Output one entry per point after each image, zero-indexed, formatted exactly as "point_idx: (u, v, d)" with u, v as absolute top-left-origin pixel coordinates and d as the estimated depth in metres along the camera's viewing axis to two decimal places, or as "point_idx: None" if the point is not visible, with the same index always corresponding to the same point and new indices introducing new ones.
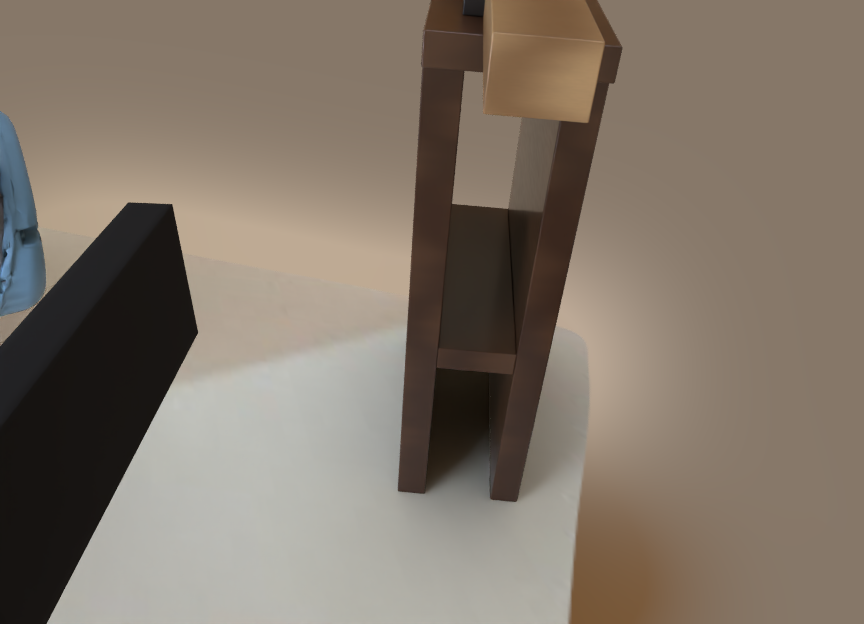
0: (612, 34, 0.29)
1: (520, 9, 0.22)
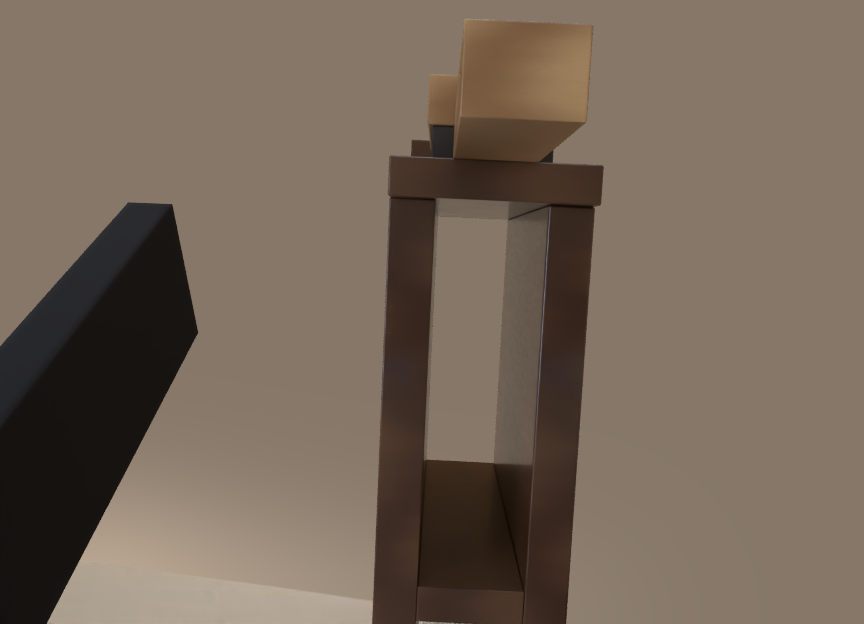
0: None
1: None
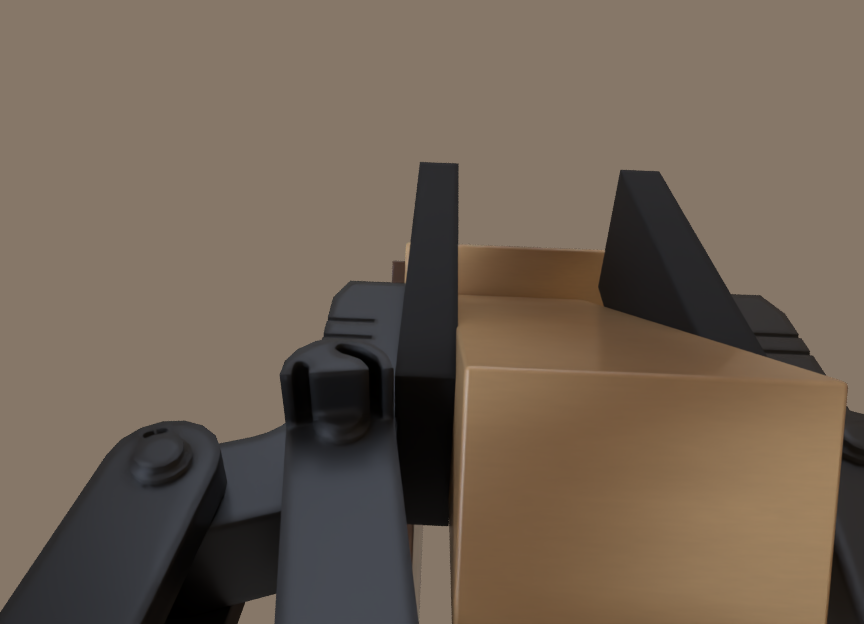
0: None
1: (531, 333, 0.09)
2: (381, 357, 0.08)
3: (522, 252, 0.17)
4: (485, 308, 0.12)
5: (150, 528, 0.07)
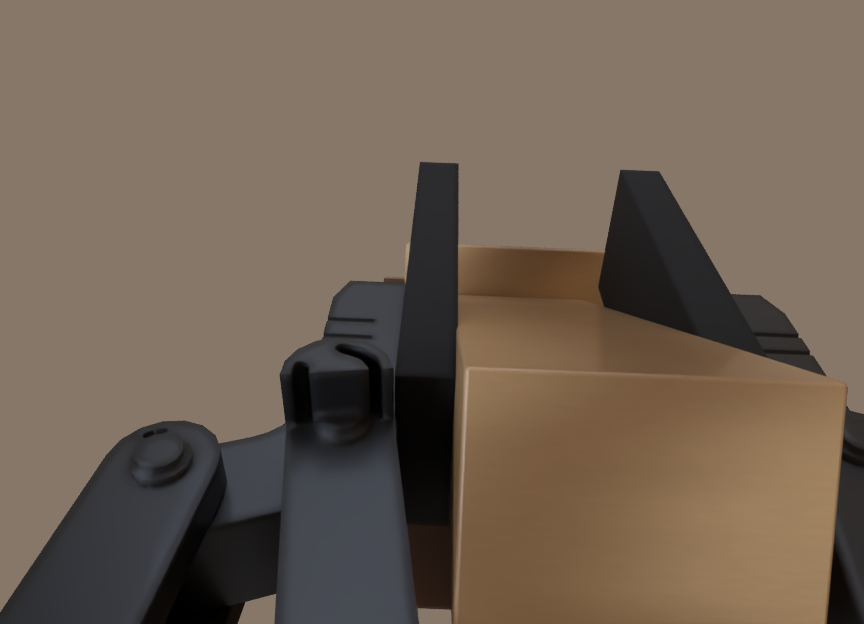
0: None
1: (530, 333, 0.09)
2: (381, 357, 0.08)
3: (522, 252, 0.17)
4: (485, 308, 0.12)
5: (150, 528, 0.07)
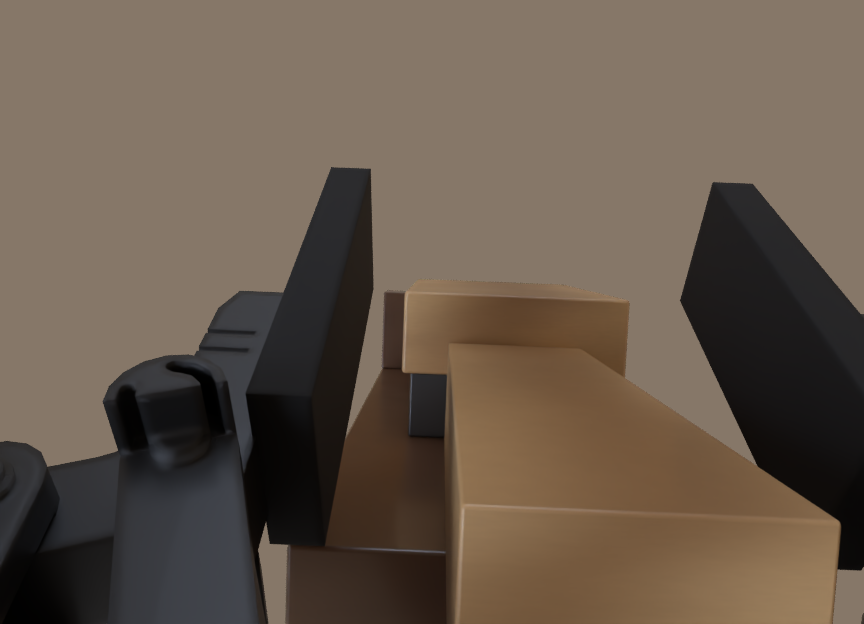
0: None
1: (528, 427, 0.09)
2: (214, 371, 0.07)
3: (521, 301, 0.17)
4: (483, 373, 0.13)
5: None
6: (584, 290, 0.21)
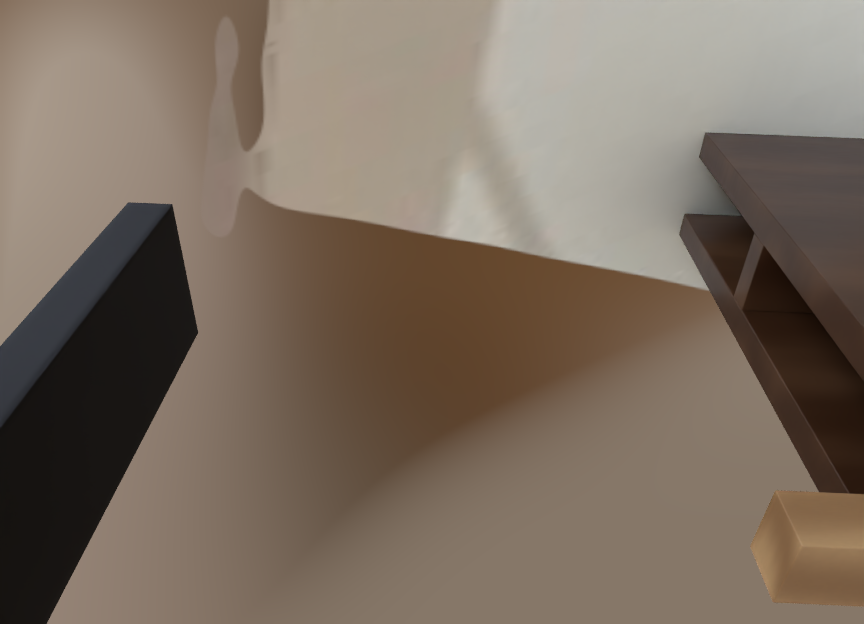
0: None
1: None
2: None
3: None
4: None
5: None
6: None
